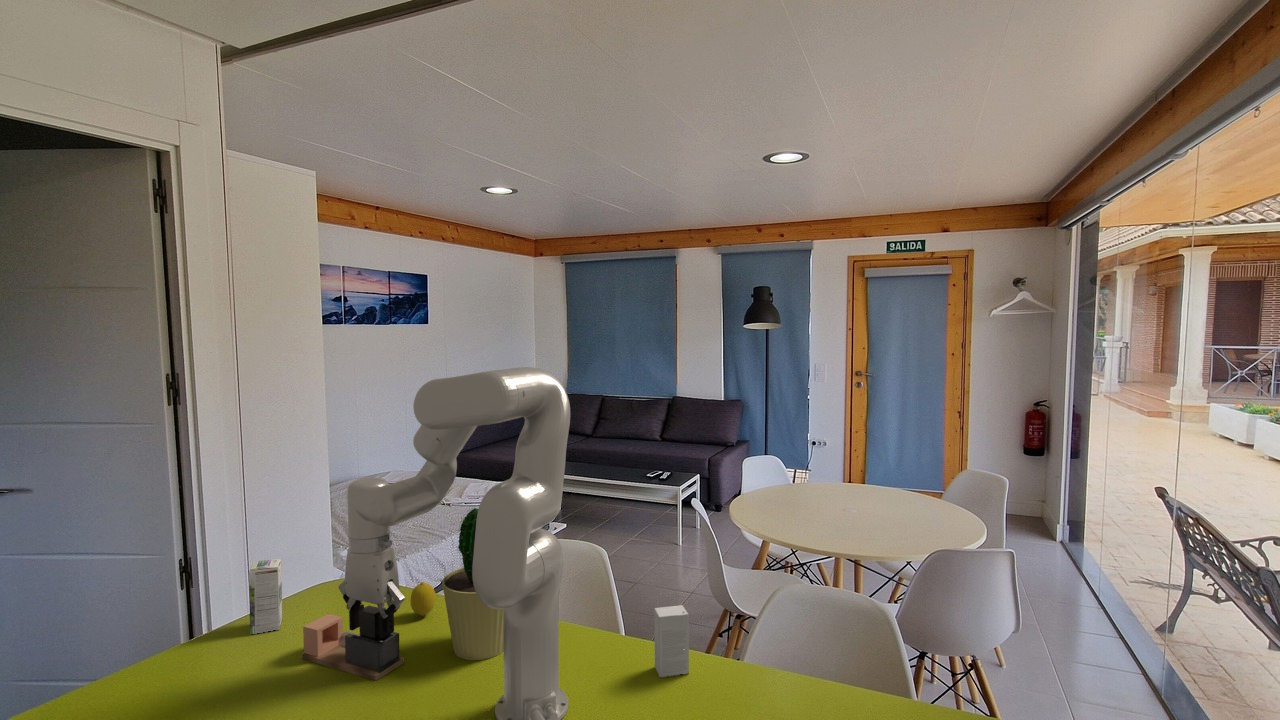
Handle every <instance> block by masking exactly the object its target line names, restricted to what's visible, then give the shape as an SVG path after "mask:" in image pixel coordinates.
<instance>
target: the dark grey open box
mask: <svg viewBox="0 0 1280 720" xmlns="http://www.w3.org/2000/svg"><path fill="white" fill-rule="evenodd" d="M382 641H383V642H380V641H376V640H372V639H368V638H365V637H361V636H357V635H353V634H347V635H345V656H346V663H347V664H351V665H354V666H358V667H361V668H365V669H368V670H372V671H375V672H378V673H381V672H382V671H384V670H386V669H387V668H389V667H390V666H392V665H393V664H395V663H396V662H398V661H399V660H400V657H401V655H400V654H401V651H400V633H399V632H396V631H394V632H393V633H391V634H389V635H388V636H386V637H385V639H383V640H382Z"/></svg>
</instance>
